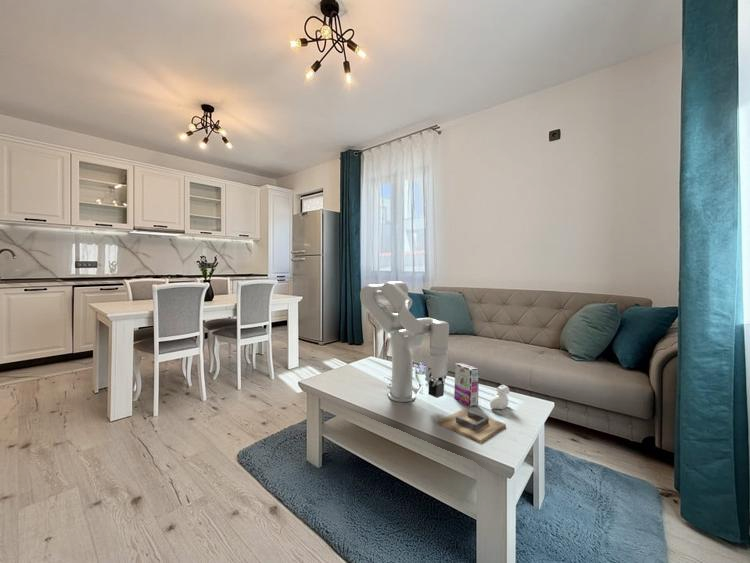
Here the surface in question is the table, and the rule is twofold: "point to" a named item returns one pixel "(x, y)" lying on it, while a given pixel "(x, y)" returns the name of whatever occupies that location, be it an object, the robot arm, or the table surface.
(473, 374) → the candy bar box
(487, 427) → the end holder
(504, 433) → the table surface
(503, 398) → the bust
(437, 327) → the robot arm
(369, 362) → the table surface
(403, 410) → the table surface
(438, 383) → the connector plug
